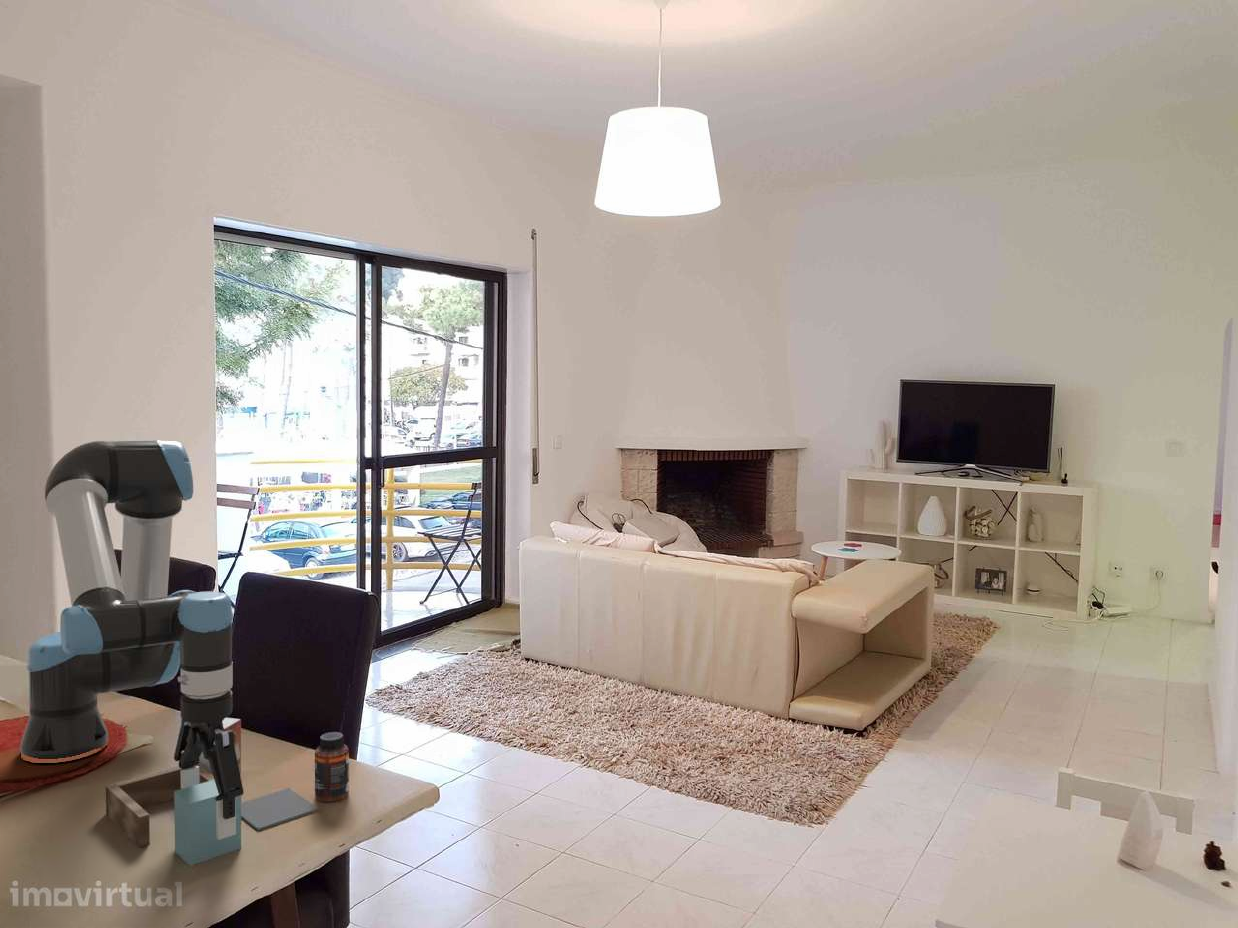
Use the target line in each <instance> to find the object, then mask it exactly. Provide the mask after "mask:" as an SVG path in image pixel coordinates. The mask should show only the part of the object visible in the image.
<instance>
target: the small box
mask: <svg viewBox="0 0 1238 928" xmlns="http://www.w3.org/2000/svg"><path fill="white" fill-rule="evenodd" d="M222 723H223V727H224V730H225V732H226V731H230V730H232V731H233V734H234V747H235V752H236V757H237V762H238V767H239V771H240V773H241V772H242V720H241V719H240V718H233V717H226V718H225V719H224V720H223V722H222ZM199 759H200V762H201V763H199V764H198V765H200V766H201V767H203V768H204V769H205V770H207V771H208V772H209V773H211V774H212V775H213V773H212V770H211V767H210V763H209V760H208V759H205V758H204V755H203V752H202V753H201V755H200V757H199Z"/></svg>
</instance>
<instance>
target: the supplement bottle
mask: <svg viewBox="0 0 1238 928" xmlns="http://www.w3.org/2000/svg"><path fill="white" fill-rule="evenodd" d="M349 751H350V750H349V746H348V745H346V744H345V743H344V735H343V733H342V732H338V731H331V732H325V733H324V734H322V735H321V736H320V738H319V746H318V747H316V749H315V751H314V796H315V799H316V800H318V801H320V802H324V803H335V802H337V801H341V800H343V799H345V798H346V797H348V795H349V793H350V762H349V761H350V752H349ZM334 801H335V802H334Z"/></svg>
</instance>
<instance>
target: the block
mask: <svg viewBox="0 0 1238 928" xmlns="http://www.w3.org/2000/svg"><path fill="white" fill-rule="evenodd" d="M218 795H219V793H218V790H217V787H216V783H215V780H211V781H208V782H204V783H201V784H197V785H194V786H191V787H187V788H184V789H180V790H177V791H174V798H173V800H174V802H173V803H174V852H175V853H176V854H177V855H178V856H179V855H180V856H181V857H182V858H183V859H182V858H181V857H180V856H179V857H180V858H181V859H182V860H184V861H185V862H186V863H187V864H188V865H189V866H190V867H191V866H194V865H197V864H201V863H202V862H205V861H208V860H211V859H215V858H218V857H220V856H222V855H226V854H229V853H232V852H235V851H238V850H241V849H242V818H241V803H242V795H240V796H237V797H236V834H235V835H232V836H229V837H226V838H223V839H220V840H218V839H217V819H216V800H215V798H216V797H217V796H218Z"/></svg>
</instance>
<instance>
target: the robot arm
mask: <svg viewBox="0 0 1238 928" xmlns="http://www.w3.org/2000/svg"><path fill="white" fill-rule="evenodd" d="M191 466H192V465H191V462H190V458H189V455H188V453H187V450H186V448H185V447H184V445H183V444H182V443H181V442H179V441H176V440H160V439H156V440H122V441H121V440H118V441H117V440H116V441H115V440H113V441H104V440H99V441H97V440H96V441H91V442H87V443H83V444H81V445H79V446H76V447H74V448H73V449H71V450H70V451H68V452H67V453H66V454H64V455H63V456H62V457H61V458H60V459H59V460H58V461H57V462H56V463H55V464H54V465H53V467H52V469H51V471H50V472H49V475H48V477H47V479H46V482H45V487H44V498H45V505H46V508H47V511H48V513H50V515H52V516H53V517H54V518H55V521H56V526H57V531H58V538H59V543H60V549H61V554H62V560H63V565H64V570H65V576H66V581H67V582H66V583H67V587H68V591H69V592H68V593H69V598H70V604H71V606H69V607H66V608H63V609H62V610H61V613H60V620H59V621H60V622H59V623H60V627H59V628H60V631H58V632H55V633H51V634H47V635H45V636H43V637H40V638H39V639H37V640H36V641H34V643H32V644H31V646H30V647H29V650H28V662H27V663H28V664H27V667H26V669H27V671H28V690H29V691H28V694H29V695H28V696H29V698H28V700H29V701H28V702H29V718H28V721H27V723H26V726H25V728H24V733H23V735H22V737H21V741H20V745H19V752H20V751H21V753H22V754H24V755H26V756H29V757H33V758H38V759H58V758H66V757H72V756H76V755H80V754H83V753H86V752H89V751H91V750H94V749H98V748H101V747H103V746H104V745H105V744H106V743H107V741H108V742H109V733H108V729H107V727H106V724H105V722H104V719H103V716H102V715H101V712H100V710H99V707H98V695H101V694H106V693H110V692H111V693H113V692H119V691H124V690H130V689H137V688H143V687H148V688H150V687H153V686H156V685H160V684H165V683H169V682H170V681H171V680H173V679H174V678H175V676H177V674H178V672H179V671H180V676H179V675H178V677H177V682H178V683H180V693H182V695H181V696H180V697H179V698H180V699H179V700H180V702H179V704H180V718H181V723H180V729H179V734H178V737H177V743H176V747H175V751H174V755H173V760H174V761H175V762H178V766H179V767H180V768H182V770H181V789H184V788H187V787H191V786H194V785H197V784H199V766H194V767H193V765H195V764H199V763H201V762H200V759H199V757H200V755H201V753H202V752H203V755H204V758H205V759H208V760H209V763H210V767H211V770H212V773H213V777H214V780H215V783H216V787H217V790H218V793H219V795H218V796H217V797H216V798H215V800H216V819H217V839H218V840H220V839H223V838H226V837H229V836H232V835H235V834H236V797H237V796H240V795H241V796H243V795H244V788H243V783H242V777H241V772H240V771H239V767H238V762H237V757H236V752H235V747H234V734H233V731H232V730H230V731H226V732H225V730H224V727H223V723H222V722H223V720H224V719H225V718H229V716H231V714H232V713H233V711H234V710H233V691H232V690H231V689H232V688H233V684H234V683H233V681H234V680H233V678H234V677H233V674H234V673H233V672H234V671H233V668H234V667H233V665H234V664H233V619H234V613H233V611H232V600H231V597H230V596H229V595H228V594H226V593H225V592H219V591H212V590H211V591H199V592H197V591H193V590H190V589H182V590H177V591H175V592H173V593H171V594H169V595H168V590H169V576H170V574H169V573H170V560H171V545H172V530H173V518H174V517H176V516H177V515H178V514H180V512H181V511H182V508H183V506H182V505H183V501H184V502H187V501H188V500H191V499H192V498H193V495H194V479H193V471H192V467H191ZM108 504H114V509H115V511H116V512H117V513H118V514H119V515H121V516H122V517H123V520H122V521H123V522H122V539H121V540H122V543H121V559H120V560H121V566H120V570H119V565H118V561H117V557H116V553H115V549H114V544H113V540H112V536H111V532H110V527H109V523H108V518H107V514H106V509H105V508H106V507H107V505H108ZM179 669H180V670H179Z"/></svg>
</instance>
